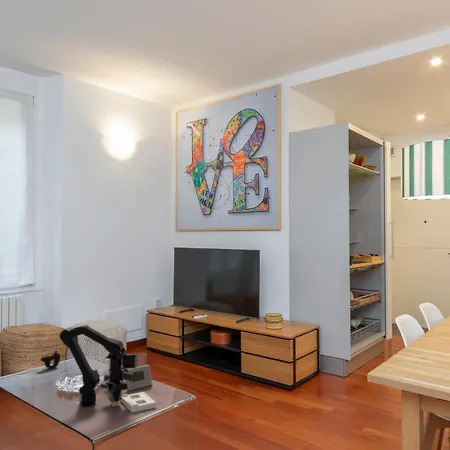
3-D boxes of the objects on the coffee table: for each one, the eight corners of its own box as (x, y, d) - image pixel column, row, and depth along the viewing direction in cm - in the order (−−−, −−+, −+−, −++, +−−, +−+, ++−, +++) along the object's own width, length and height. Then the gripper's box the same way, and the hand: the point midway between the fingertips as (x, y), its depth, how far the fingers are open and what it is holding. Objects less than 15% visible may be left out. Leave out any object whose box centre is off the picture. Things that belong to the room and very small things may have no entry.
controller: (61, 366, 264) (61, 350, 264) (43, 371, 253) (43, 354, 254) (57, 365, 266) (57, 349, 266) (39, 370, 256) (39, 353, 256)
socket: (131, 412, 196) (132, 405, 197) (120, 401, 210) (120, 394, 210) (155, 407, 203) (155, 401, 203) (143, 396, 216) (143, 390, 216)
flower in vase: (109, 388, 227) (110, 342, 228) (94, 384, 233) (96, 339, 234) (126, 382, 238) (127, 337, 239) (112, 378, 244) (113, 335, 245)
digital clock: (126, 392, 223) (126, 371, 223) (120, 386, 230) (121, 367, 231) (154, 386, 231) (155, 367, 232) (148, 382, 239) (148, 363, 239)
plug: (111, 407, 202) (111, 392, 202) (108, 404, 206) (108, 389, 206) (121, 405, 204) (121, 390, 205) (117, 402, 209) (118, 387, 209)
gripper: (138, 370, 202) (137, 402, 202) (125, 360, 218) (124, 390, 217) (115, 373, 196) (114, 407, 196) (103, 363, 212) (102, 394, 211)
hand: (114, 399), depth 205 cm, fingers closed on plug, 5 cm apart
